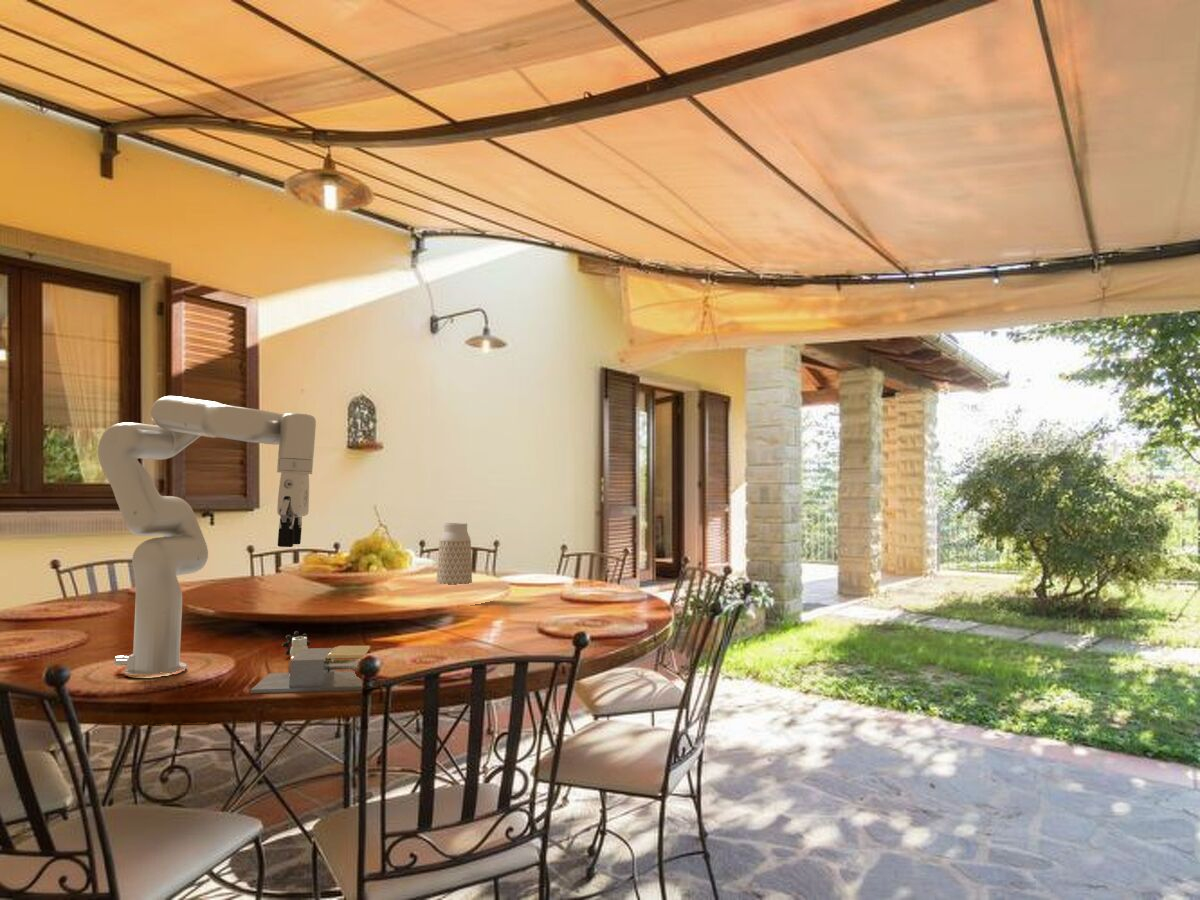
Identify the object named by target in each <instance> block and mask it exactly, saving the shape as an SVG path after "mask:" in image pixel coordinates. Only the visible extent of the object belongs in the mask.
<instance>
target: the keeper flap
mask: <svg viewBox="0 0 1200 900" xmlns="http://www.w3.org/2000/svg"><path fill="white" fill-rule="evenodd" d="M333 648H334V649H333V650H332V651H331V652H330V653H329V654H328V655H327V656H326V660H329V659H330V658H335V659H363V658H364V657H365V656H366V655H367V653H368V652H369V650H370V648H371V645H338V646H334V647H333Z"/></svg>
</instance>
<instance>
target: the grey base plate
mask: <svg viewBox="0 0 1200 900" xmlns="http://www.w3.org/2000/svg"><path fill="white" fill-rule="evenodd" d="M334 648H335V647H320V648H319V647H318V648H309V647H308V649H302V650H301V651H300V652H299V653H298V654H297V655H296V656H295V657H293V658H292V659H291V660H290V659H289V660H290V676H289V672H280V673H279V672H278V673H277V672H276V673H275V672H273V673H271V672H270V673H268V674H267V675H266V676H265V677H263V678H262V680H259V682H258V683H257V684H256V685H254V686H253V687H252V688H251V689H250V694H276V693H277V694H279V693H281V694H282V693H304V692H305V693H306V692H307V693H308V692H309V693H311V692H312V693H313V692H335V691H336V692H337V691H338V692H340V691H363V690H362V681H361V679H360V678H359V677H357V676H356V674H355V671H356V670H352V671H351V670H350V671H349V670H348V671H347V670H346V671H345V670H344V671H343V670H342V671H340V670H339V671H335V670H328V660H326V656H327V655H328V654H329V653H330V652H331V651H332V650H333V649H334ZM329 660H336V658H330V659H329Z"/></svg>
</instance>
